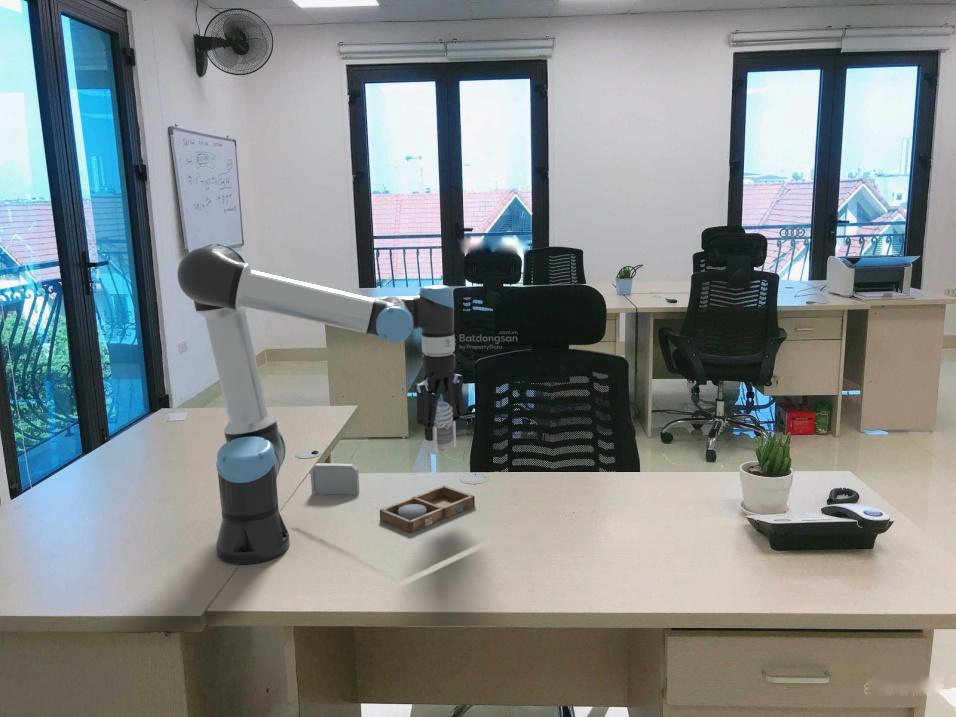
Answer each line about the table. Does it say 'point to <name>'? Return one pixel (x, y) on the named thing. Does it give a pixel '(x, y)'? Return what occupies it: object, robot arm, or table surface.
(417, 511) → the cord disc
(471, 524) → the table surface
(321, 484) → the grey plastic panel
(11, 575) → the table surface
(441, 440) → the light bulb
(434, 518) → the organizer
